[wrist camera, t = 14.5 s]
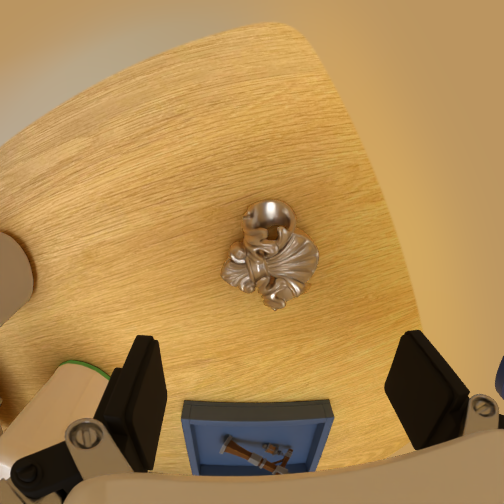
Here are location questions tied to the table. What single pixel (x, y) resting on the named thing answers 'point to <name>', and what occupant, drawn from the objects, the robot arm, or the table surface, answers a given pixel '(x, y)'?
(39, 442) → the cup
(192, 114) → the table surface
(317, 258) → the ornament
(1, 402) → the table lamp
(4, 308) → the can
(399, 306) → the table surface
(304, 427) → the blue tray
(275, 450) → the wooden post with brackets
